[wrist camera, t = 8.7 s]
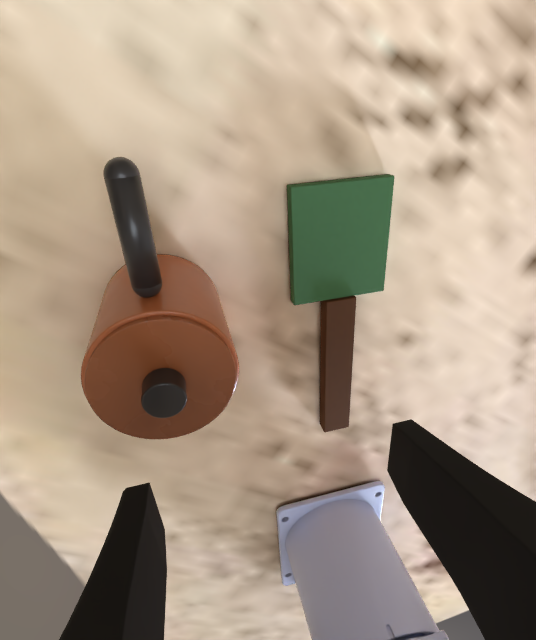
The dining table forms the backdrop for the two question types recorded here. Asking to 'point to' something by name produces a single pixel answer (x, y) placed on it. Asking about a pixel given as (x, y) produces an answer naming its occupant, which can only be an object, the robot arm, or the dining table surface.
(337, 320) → the spatula
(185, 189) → the dining table surface
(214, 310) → the pot
